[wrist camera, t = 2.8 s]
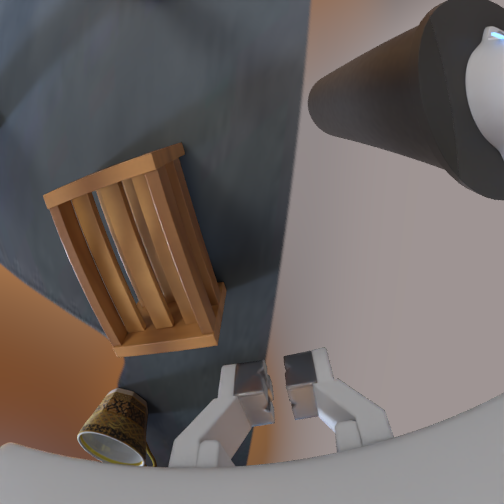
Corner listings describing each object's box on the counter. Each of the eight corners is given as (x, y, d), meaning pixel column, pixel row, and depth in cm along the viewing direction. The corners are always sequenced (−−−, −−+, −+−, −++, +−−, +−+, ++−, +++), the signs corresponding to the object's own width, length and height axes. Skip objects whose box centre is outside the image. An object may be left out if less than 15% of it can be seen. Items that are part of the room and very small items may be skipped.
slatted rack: (181, 142, 28) (151, 152, 20) (226, 291, 34) (217, 345, 26) (92, 173, 29) (42, 195, 21) (144, 306, 35) (117, 357, 27)
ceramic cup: (88, 391, 42) (65, 437, 33) (123, 371, 40) (99, 425, 31) (146, 435, 46) (133, 481, 37) (185, 421, 44) (175, 474, 35)
